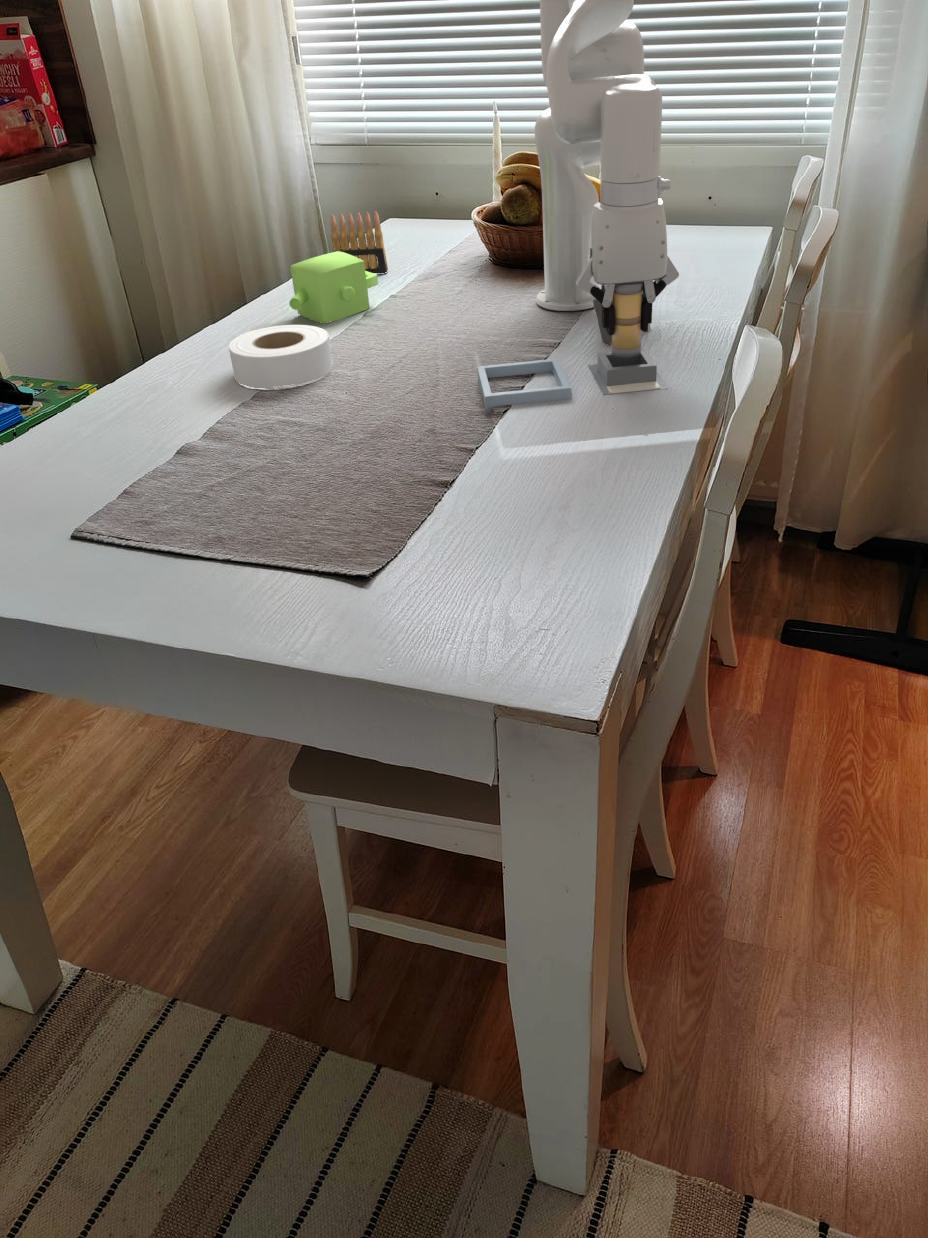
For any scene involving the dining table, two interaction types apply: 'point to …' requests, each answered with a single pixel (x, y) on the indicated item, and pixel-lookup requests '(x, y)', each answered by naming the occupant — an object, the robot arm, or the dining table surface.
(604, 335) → the electrical switch
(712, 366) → the dining table surface
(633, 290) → the fuse
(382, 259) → the ammunition clip
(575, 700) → the dining table surface
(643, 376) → the grey square socket holder
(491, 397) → the tray
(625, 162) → the robot arm
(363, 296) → the gearbox
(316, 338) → the roll of tape
